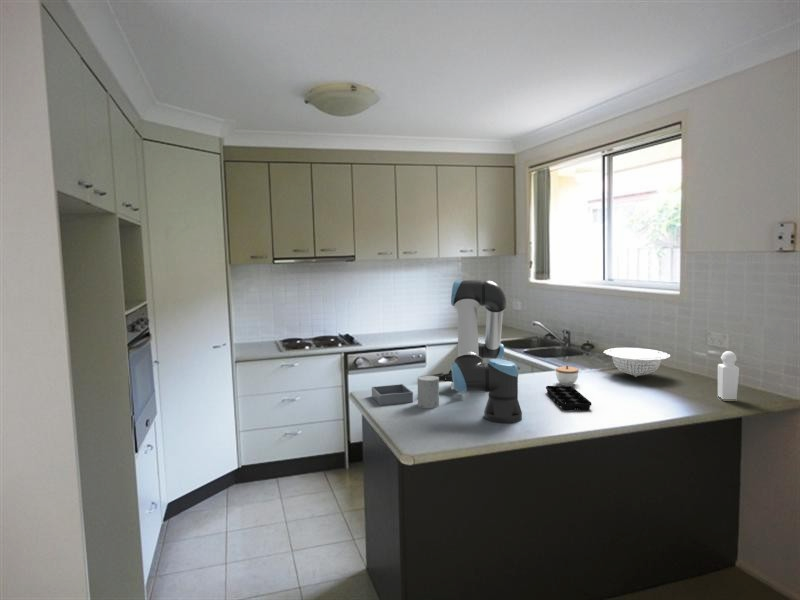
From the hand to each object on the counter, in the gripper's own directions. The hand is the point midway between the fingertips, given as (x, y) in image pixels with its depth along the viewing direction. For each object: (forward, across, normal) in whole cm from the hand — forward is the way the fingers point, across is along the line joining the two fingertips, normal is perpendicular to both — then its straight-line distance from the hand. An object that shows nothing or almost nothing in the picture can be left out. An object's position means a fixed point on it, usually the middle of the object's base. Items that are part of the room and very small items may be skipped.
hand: (438, 384), depth 241 cm
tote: (+10, +19, -7) cm, 22 cm away
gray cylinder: (+10, 0, -7) cm, 12 cm away
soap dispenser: (-61, -112, -7) cm, 128 cm away
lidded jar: (-55, -44, -7) cm, 71 cm away
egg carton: (-26, -51, -8) cm, 58 cm away
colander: (-86, -72, -7) cm, 112 cm away
